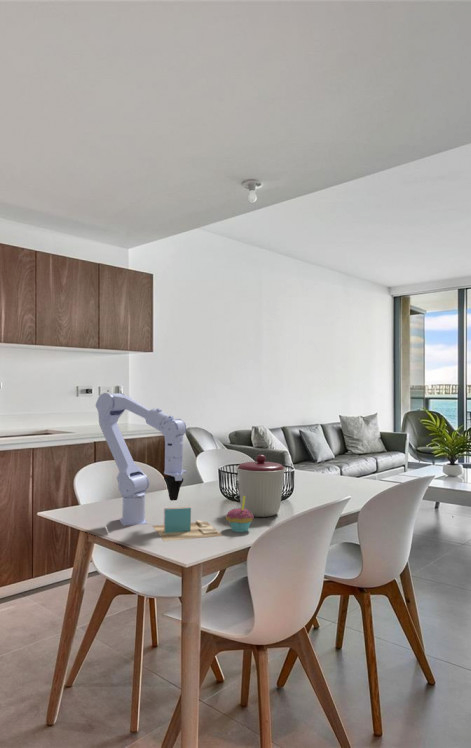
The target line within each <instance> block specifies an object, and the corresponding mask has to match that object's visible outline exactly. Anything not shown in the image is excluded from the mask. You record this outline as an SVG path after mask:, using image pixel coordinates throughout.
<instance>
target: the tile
mask: <svg viewBox="0 0 471 748" xmlns="http://www.w3.org/2000/svg"><path fill="white" fill-rule="evenodd" d="M191 513H192V510H191V507H190V506H184V507H183V506H182V507H181V506H180V507H170V508H169V507H168V508H163V525H164V532H165V533H171V532H184V531H191V523H192V522H191V519H192V518H191V516H192V515H191Z"/></svg>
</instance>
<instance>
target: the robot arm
mask: <svg viewBox="0 0 471 748" xmlns="http://www.w3.org/2000/svg"><path fill="white" fill-rule="evenodd" d="M95 408H96V409H97V413H98V424H99V426H100V429H101V432H102V434H103V437H104V439H105V441H106V444H107V447H108V448H109V451H110V452H111V455H112V457H113V459H114V462H115V465H116V466H117V469H118V473H117V476H116V480H117V483H118V485H117V486H118V487H117V488H118V491H119V493H120V494H121V497H122V509H121V511H122V512H121V513H122V515H121V516H122V517H120V518H118V519H119V521H120V523H121V525H122V526H133V525H146V524H148V522H147V521H146V519H145V517H146V515H145V514H146V511H145V510H146V509H145V507H146V506H145V505H146V494H147V493H146V492H147V490H148V489H149V487H150V479H149V477H148V476H147V474H145V473H144V471H143V470H142V468H141V467H139V465H136V464H135V461H134V459H133V457H132V454H131V453H130V450H129V447H128V446H127V444H126V441H125V438H124V437H123V433H122V432H121V430H120V426H119V425H118V421H119V419H120V417H122V414H124V412H125V411H126V410H127V411H129V412H131V413H133V414H135V415H137V416H139V417H141V418H143V419H144V420H145V423H146V424H147V425H148V426H149V427H152V428H154V429H155V430H157V431H159V432H161V435H163V438H164V471H163V474H164V475H165V476H166V475H168V477H167V476H166V477H164V478H163V479H164V482H165V484H166V488H167V492H168V497H169V501H178V499H179V492H180V488H181V486H182V484H183V482H184V478H183V475H184V474H187V470H186V469H184V467H183V466H184V435H185V434H186V431H187V425H186V423H185V421H184V420H182V418H175V419H174V416H173V415H172V414H170V415H168V414H167V413H165V412H163V409H162V408H156V407H155V408H152V409H150V408H148V407H147V406H145V405H143V403H142V404H141V403H140V402H138V401H137V400H135V399H133V398H132V397H131V396H129V395H126V394H125V393H123V392H117V393H108V392H103V393H101V394H100V395H98V397H97V400H96V403H95Z"/></svg>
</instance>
